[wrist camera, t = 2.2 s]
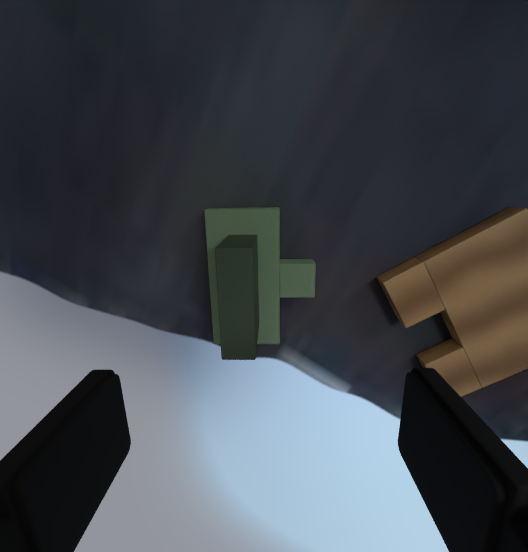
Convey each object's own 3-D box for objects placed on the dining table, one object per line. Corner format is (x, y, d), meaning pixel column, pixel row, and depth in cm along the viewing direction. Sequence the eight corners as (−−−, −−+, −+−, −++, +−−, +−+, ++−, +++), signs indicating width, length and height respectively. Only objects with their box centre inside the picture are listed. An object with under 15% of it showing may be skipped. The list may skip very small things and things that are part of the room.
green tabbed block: (208, 208, 25) (183, 216, 18) (314, 206, 25) (331, 214, 18) (217, 334, 29) (198, 384, 21) (310, 334, 28) (323, 385, 21)
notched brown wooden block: (375, 276, 26) (382, 282, 25) (509, 206, 24) (527, 208, 23) (434, 391, 30) (444, 404, 28) (557, 338, 28) (576, 348, 26)
